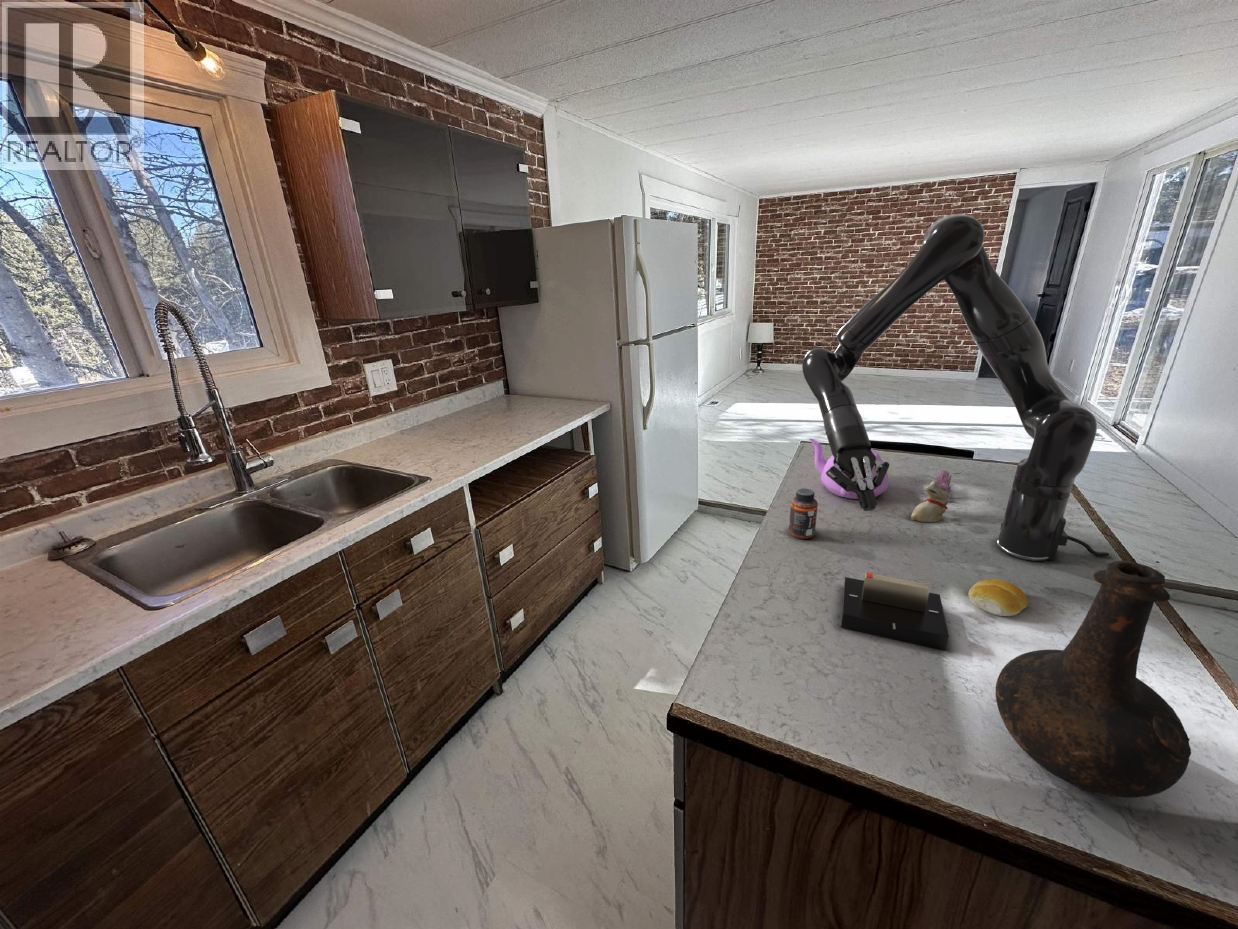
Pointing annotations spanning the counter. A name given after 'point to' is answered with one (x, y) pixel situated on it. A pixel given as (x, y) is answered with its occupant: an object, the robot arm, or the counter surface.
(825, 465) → the teapot
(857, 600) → the black square dial panel
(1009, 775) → the counter surface
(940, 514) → the chocolate bunny
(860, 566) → the counter surface
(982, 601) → the bread roll
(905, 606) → the red-tipped beige bar
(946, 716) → the counter surface
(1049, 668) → the brown mottled bulbous container
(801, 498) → the supplement bottle
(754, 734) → the counter surface
